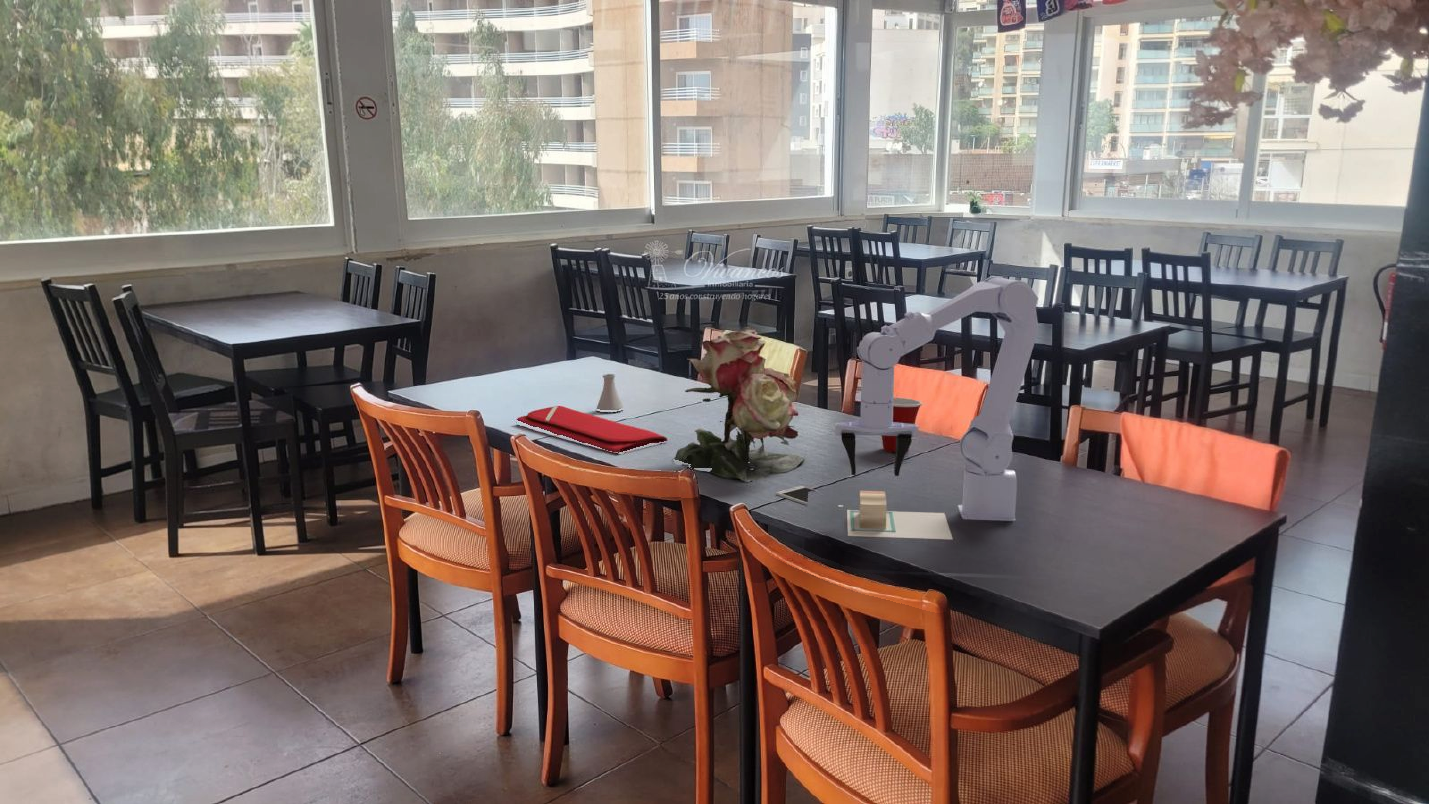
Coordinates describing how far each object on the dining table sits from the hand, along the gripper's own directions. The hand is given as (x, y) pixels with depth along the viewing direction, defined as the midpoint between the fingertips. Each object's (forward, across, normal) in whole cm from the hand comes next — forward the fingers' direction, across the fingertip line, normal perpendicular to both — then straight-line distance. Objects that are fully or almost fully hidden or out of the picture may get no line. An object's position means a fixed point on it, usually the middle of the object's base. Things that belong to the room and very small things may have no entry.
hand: (874, 474), depth 181 cm
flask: (+10, +67, -85) cm, 109 cm away
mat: (+9, -4, +2) cm, 10 cm away
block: (+9, 0, 0) cm, 9 cm away
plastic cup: (+10, -7, -52) cm, 53 cm away
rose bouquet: (+10, +26, -38) cm, 47 cm away
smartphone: (+10, +11, -13) cm, 19 cm away
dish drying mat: (+10, +67, -60) cm, 91 cm away
